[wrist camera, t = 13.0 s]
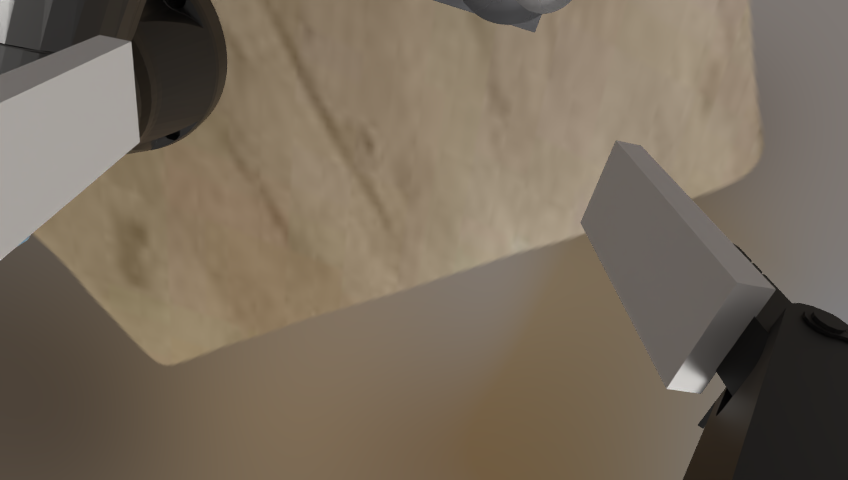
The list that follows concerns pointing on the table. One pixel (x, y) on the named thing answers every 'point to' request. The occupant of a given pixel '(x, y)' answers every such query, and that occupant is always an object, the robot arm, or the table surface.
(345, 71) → the table surface
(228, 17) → the table surface
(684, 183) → the table surface
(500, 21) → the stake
